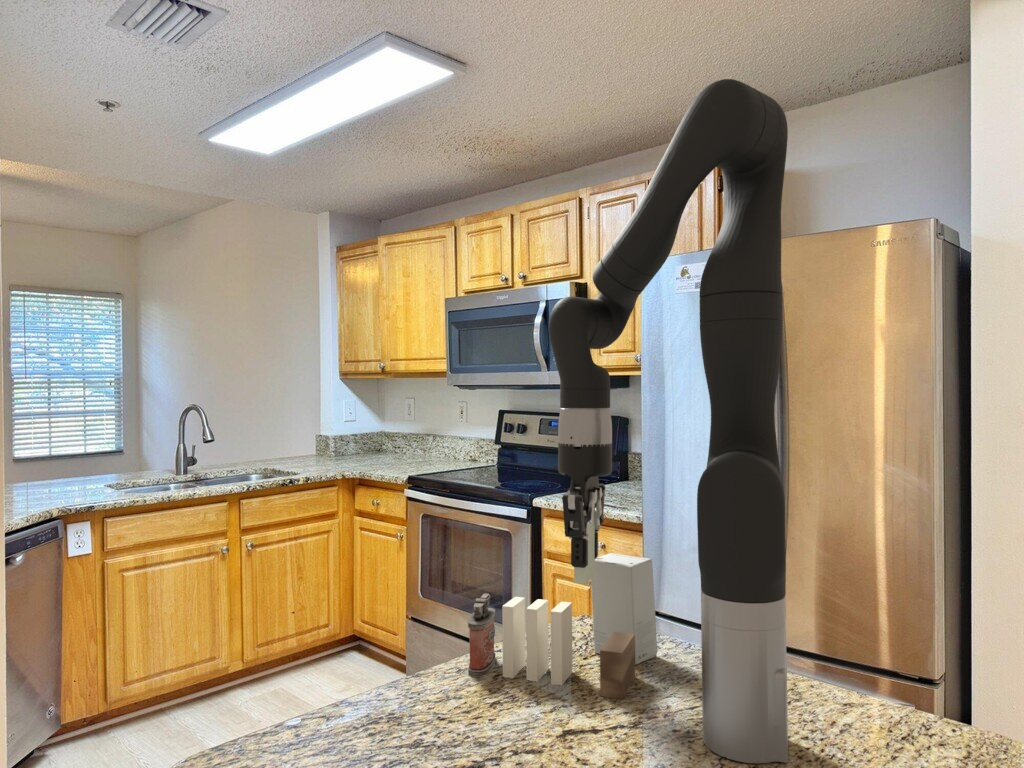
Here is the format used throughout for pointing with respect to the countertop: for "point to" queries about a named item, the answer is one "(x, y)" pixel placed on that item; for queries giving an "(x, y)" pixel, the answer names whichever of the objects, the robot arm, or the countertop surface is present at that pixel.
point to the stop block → (617, 665)
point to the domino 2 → (537, 640)
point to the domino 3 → (561, 643)
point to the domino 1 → (513, 636)
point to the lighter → (481, 638)
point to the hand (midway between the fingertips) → (584, 561)
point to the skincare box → (624, 602)
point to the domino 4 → (589, 571)
